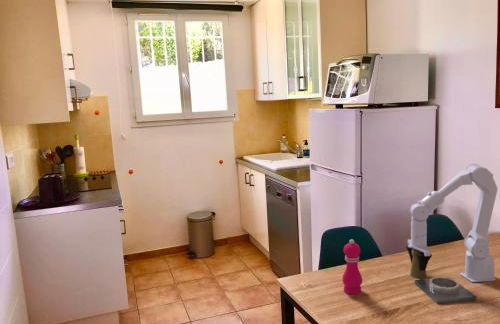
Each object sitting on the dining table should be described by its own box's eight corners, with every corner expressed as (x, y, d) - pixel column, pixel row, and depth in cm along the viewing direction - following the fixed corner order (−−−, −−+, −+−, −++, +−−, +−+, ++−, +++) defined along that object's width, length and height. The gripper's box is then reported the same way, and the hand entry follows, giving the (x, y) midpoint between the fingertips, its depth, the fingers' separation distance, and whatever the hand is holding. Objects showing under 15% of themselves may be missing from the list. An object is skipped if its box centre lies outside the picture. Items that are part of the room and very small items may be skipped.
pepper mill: (363, 287, 151) (362, 236, 148) (361, 296, 144) (361, 243, 142) (343, 285, 153) (342, 235, 151) (341, 294, 147) (340, 242, 144)
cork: (428, 278, 156) (428, 251, 155) (411, 278, 157) (411, 251, 156) (424, 272, 162) (424, 246, 161) (408, 271, 163) (409, 246, 162)
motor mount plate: (449, 280, 153) (449, 272, 153) (476, 300, 138) (476, 290, 137) (414, 283, 152) (414, 274, 152) (437, 303, 137) (437, 294, 136)
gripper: (400, 229, 164) (400, 260, 166) (417, 240, 150) (417, 275, 152) (417, 228, 165) (416, 259, 167) (436, 239, 151) (435, 273, 152)
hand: (418, 267), depth 159 cm, fingers open, 6 cm apart
